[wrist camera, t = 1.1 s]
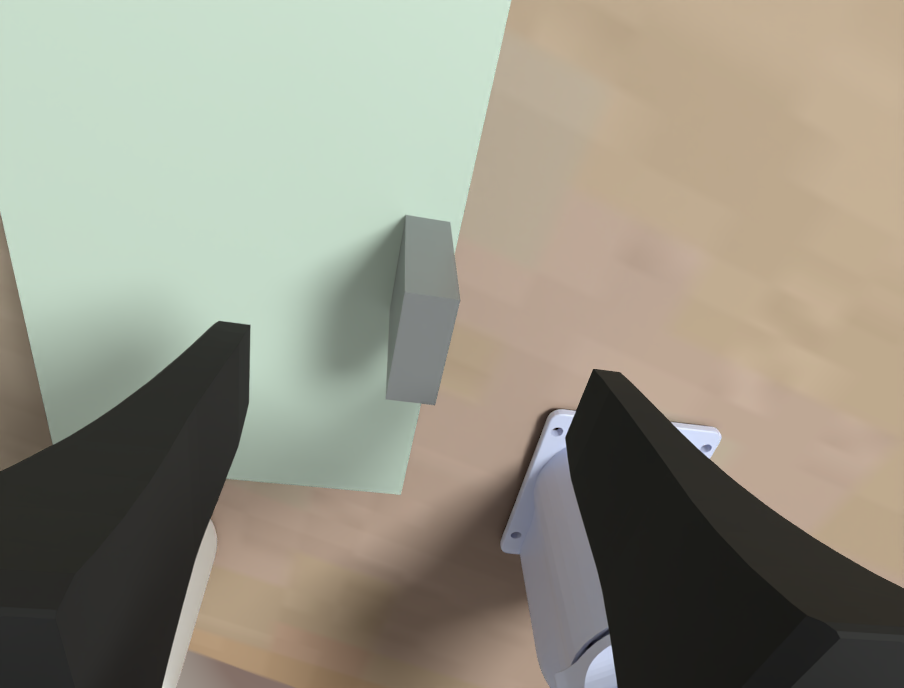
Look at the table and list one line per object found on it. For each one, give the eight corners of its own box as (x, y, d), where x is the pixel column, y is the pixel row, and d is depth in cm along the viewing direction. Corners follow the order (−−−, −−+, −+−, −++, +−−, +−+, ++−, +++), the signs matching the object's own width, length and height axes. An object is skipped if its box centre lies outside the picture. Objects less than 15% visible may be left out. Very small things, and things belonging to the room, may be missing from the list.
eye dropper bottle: (110, 547, 31) (-30, 851, 21) (172, 489, 28) (49, 796, 19) (190, 582, 33) (96, 874, 23) (253, 529, 30) (180, 827, 21)
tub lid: (401, 470, 24) (399, 593, 20) (72, 438, 22) (-8, 567, 18) (531, -134, 13) (589, -150, 9) (-73, -292, 12) (-353, -403, 7)
